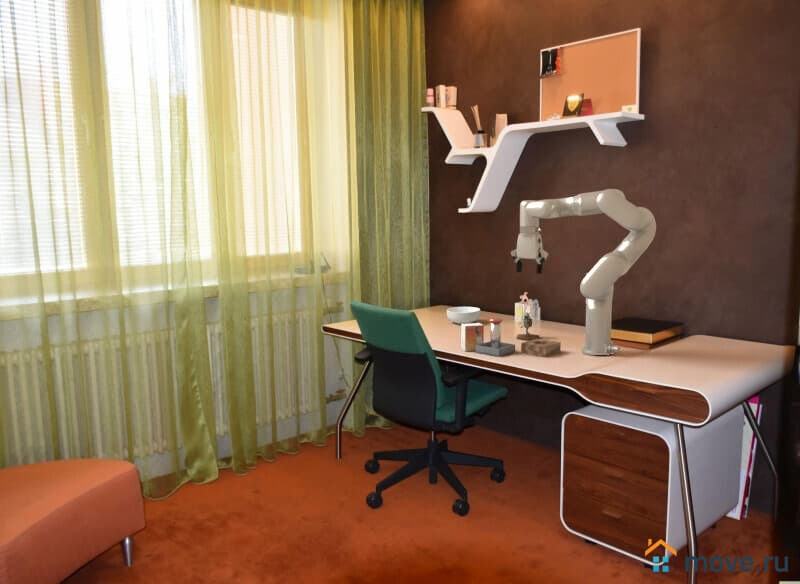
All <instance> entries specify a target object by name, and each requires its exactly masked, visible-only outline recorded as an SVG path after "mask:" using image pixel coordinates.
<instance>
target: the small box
mask: <svg viewBox="0 0 800 584" xmlns="http://www.w3.org/2000/svg"><path fill="white" fill-rule="evenodd" d="M484 327H485V325H484V324H482V323H480V322H476V323H475V322H472V323H471V324H461V327H460V330H461V331H460V332H461V333H460V335H461V337H460V342H461V343H460V346H461V347H460V348H461V350H463V351H464V352H470V351H471V352H473V351H474V352H476V345H479V344H482V343H485V341H484V336H485V335H484V334H485V331H484V330H485V329H484Z"/></svg>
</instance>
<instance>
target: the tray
mask: <svg viewBox="0 0 800 584" xmlns="http://www.w3.org/2000/svg"><path fill="white" fill-rule="evenodd" d="M515 352H516V344H514V343H509V342H502V341H501V348H500V349H496V348H490V341H487V342H484V343H482V344H479V345H476V351H475V353H476V354H482V355H486V356H492V357H497V358H501V357H503V356H507V355H510V354H513V353H515Z"/></svg>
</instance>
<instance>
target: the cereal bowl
mask: <svg viewBox="0 0 800 584" xmlns="http://www.w3.org/2000/svg"><path fill="white" fill-rule="evenodd" d="M480 316H481V308H479V307H474V306H455V307H450V308H447V309H446V317H447V319H448V320H449V321H451V322H453V323H455V324H456V323H457V324H456V325H460V324H471V323H475V322H476V321H478V320H479V319H480Z"/></svg>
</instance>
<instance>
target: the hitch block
mask: <svg viewBox="0 0 800 584" xmlns="http://www.w3.org/2000/svg"><path fill="white" fill-rule="evenodd" d="M520 344H521V345H520V346H521V347H520V349H521V351H520V353H521V354H524V353H525V355H531V356H535V357H542V358H546V357H550V356H553V355H555V354H559V353H561V341H556V340H555V341H554V340H548V339H542V338H539V339H533V340H530V341H523V342H521V343H520Z"/></svg>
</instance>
